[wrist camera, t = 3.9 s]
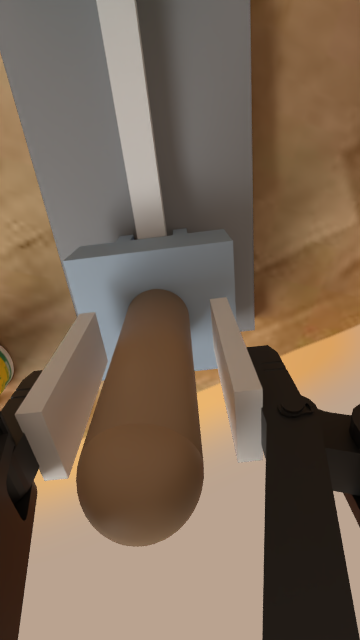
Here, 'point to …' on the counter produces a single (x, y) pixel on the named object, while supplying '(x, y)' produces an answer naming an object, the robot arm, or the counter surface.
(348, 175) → the counter surface
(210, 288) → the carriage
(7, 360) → the supplement bottle
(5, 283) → the counter surface
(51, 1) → the track
